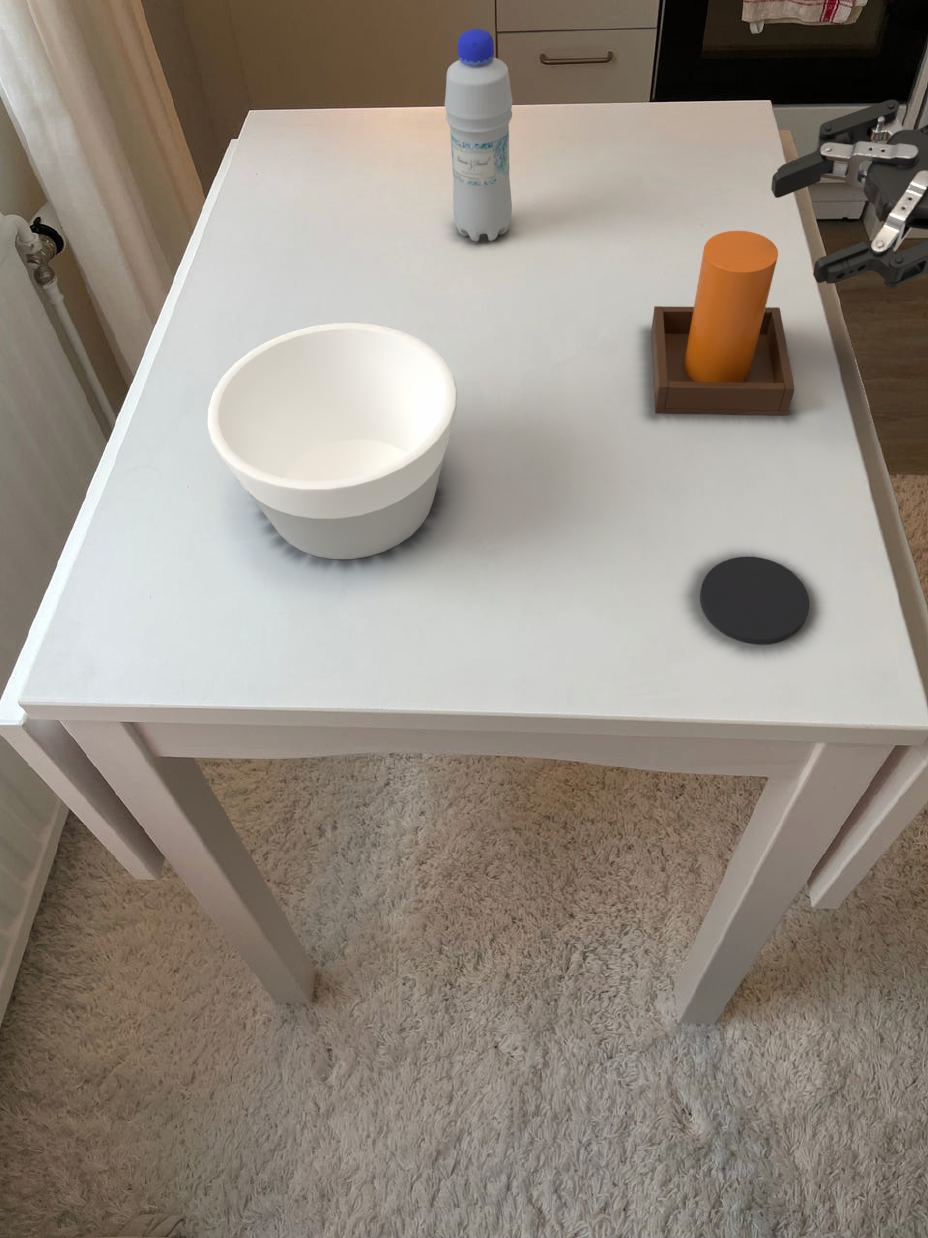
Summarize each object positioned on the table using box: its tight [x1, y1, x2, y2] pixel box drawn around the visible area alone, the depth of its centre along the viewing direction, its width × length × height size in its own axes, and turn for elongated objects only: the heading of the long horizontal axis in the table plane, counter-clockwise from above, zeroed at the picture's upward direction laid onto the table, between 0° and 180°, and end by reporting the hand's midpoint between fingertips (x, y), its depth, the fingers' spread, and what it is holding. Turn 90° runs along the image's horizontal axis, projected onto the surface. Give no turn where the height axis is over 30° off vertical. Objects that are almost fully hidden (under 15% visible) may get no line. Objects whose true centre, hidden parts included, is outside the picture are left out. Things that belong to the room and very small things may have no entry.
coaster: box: [699, 556, 810, 645], centre depth 73 cm, size 8×8×1 cm
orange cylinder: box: [684, 230, 779, 383], centre depth 84 cm, size 6×6×12 cm
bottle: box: [444, 28, 514, 242], centre depth 97 cm, size 7×7×20 cm
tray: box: [650, 305, 795, 416], centre depth 88 cm, size 12×12×3 cm
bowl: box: [207, 322, 458, 560], centre depth 77 cm, size 19×19×11 cm
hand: (794, 228), depth 73 cm, fingers open, 8 cm apart
